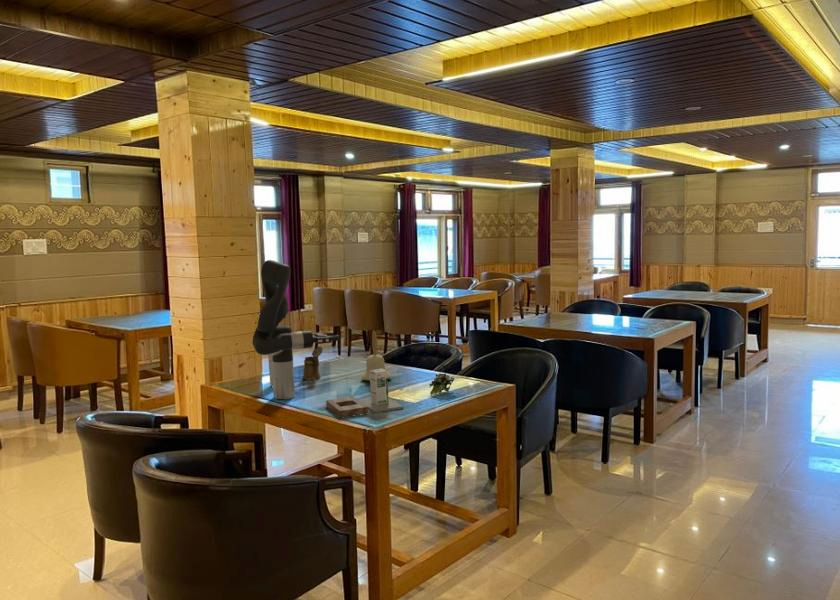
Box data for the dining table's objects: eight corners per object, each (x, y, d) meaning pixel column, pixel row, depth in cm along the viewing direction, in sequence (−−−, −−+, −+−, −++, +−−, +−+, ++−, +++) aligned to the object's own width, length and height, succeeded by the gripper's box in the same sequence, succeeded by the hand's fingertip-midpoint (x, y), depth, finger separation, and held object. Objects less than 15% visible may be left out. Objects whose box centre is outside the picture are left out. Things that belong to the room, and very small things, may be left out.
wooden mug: (314, 382, 323) (312, 347, 321) (299, 379, 333) (297, 345, 331) (328, 379, 329) (326, 345, 327) (313, 376, 339) (312, 342, 337)
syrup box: (377, 405, 270) (375, 371, 268) (370, 402, 275) (369, 369, 273) (388, 403, 273) (387, 370, 271) (382, 400, 278) (381, 368, 276)
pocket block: (340, 418, 256) (340, 410, 256) (326, 407, 274) (326, 400, 274) (368, 413, 261) (368, 406, 261) (353, 403, 279) (352, 396, 279)
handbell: (372, 384, 313) (370, 334, 311) (355, 380, 325) (352, 331, 322) (397, 379, 323) (395, 330, 321) (379, 375, 335) (377, 328, 332)
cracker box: (278, 380, 330) (276, 341, 328) (289, 380, 329) (287, 340, 327) (269, 387, 316) (266, 345, 314) (281, 387, 316) (278, 345, 314)
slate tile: (374, 413, 262) (374, 410, 262) (358, 402, 280) (358, 400, 280) (403, 408, 267) (403, 406, 267) (385, 398, 286) (385, 396, 285)
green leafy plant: (440, 403, 295) (449, 380, 299) (453, 403, 285) (463, 379, 290) (421, 392, 290) (431, 369, 294) (434, 392, 281) (444, 368, 285)
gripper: (304, 333, 267) (341, 330, 274) (296, 329, 280) (331, 325, 287) (305, 351, 268) (342, 347, 275) (297, 346, 281) (332, 342, 288)
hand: (336, 336), depth 281 cm, fingers open, 8 cm apart
